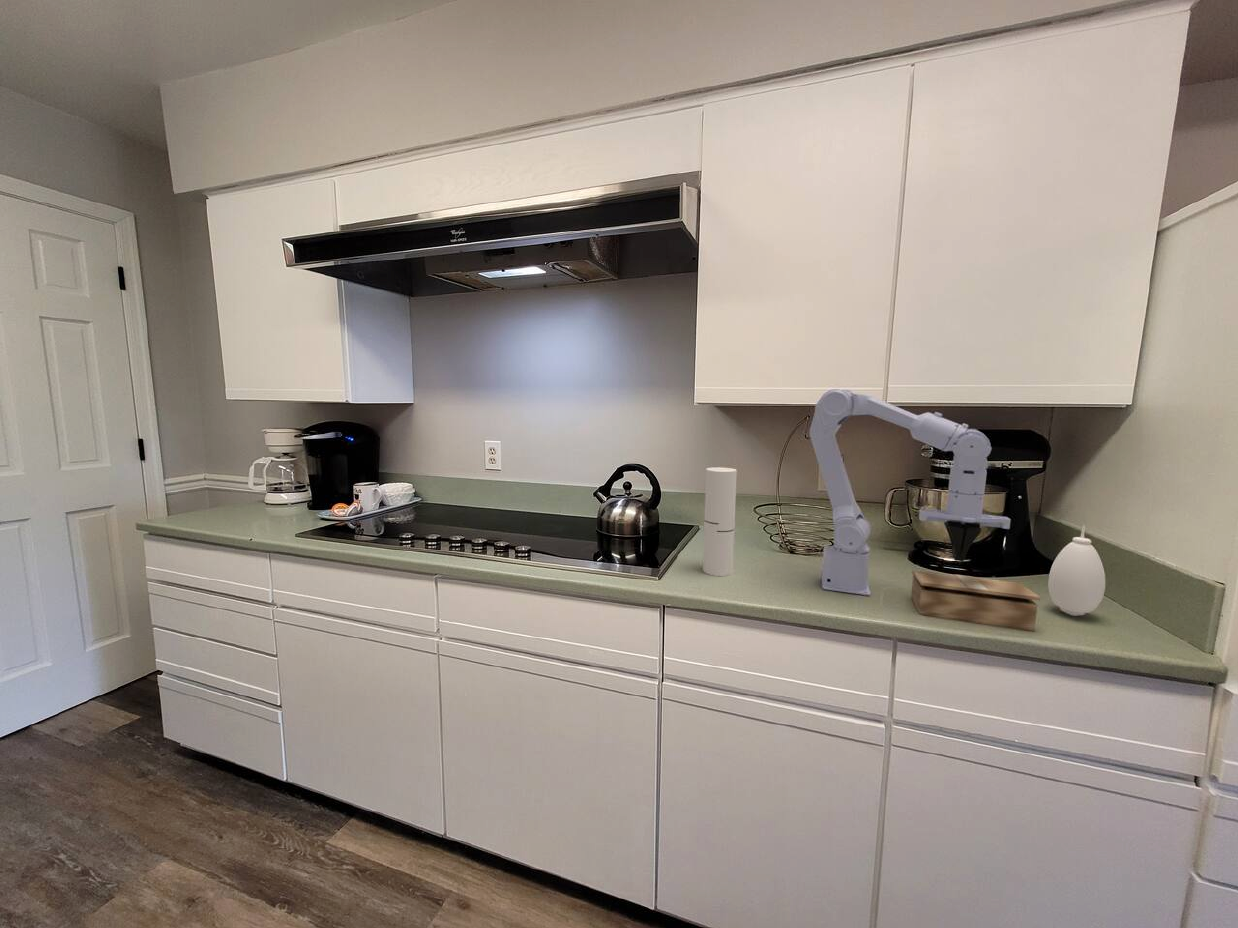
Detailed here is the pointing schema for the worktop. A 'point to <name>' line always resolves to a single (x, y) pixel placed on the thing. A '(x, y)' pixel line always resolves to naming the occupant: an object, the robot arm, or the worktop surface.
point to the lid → (974, 584)
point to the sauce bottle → (1077, 577)
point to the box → (974, 607)
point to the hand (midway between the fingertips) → (958, 559)
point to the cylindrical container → (719, 521)
